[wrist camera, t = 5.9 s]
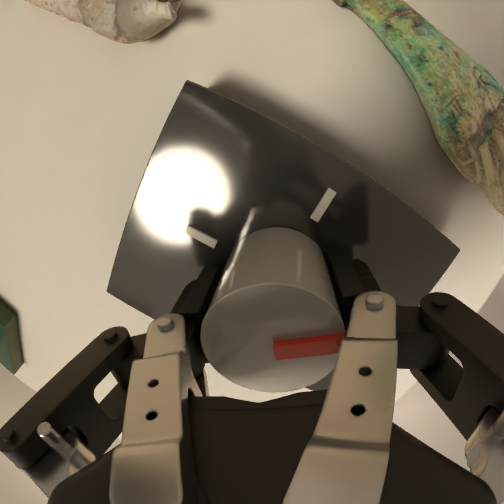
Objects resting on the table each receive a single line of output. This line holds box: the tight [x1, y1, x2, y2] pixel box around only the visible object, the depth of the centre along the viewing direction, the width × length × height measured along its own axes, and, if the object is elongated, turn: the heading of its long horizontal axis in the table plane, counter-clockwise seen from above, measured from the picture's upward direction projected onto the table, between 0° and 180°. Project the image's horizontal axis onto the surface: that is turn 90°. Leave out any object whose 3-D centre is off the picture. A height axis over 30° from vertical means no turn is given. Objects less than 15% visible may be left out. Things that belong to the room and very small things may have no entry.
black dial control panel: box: [107, 80, 460, 391], centre depth 14 cm, size 14×11×3 cm
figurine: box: [333, 0, 504, 215], centre depth 9 cm, size 6×15×4 cm, turn 38°
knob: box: [200, 227, 346, 392], centre depth 10 cm, size 4×4×5 cm
